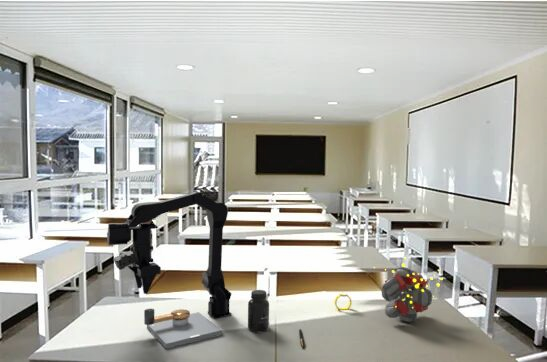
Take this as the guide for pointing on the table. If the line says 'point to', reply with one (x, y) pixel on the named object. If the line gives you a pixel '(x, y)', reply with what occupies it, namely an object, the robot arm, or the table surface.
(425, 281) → the molecule model
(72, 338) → the table surface
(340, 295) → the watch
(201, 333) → the base
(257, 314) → the supplement bottle
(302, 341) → the fountain pen
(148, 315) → the crank handle
